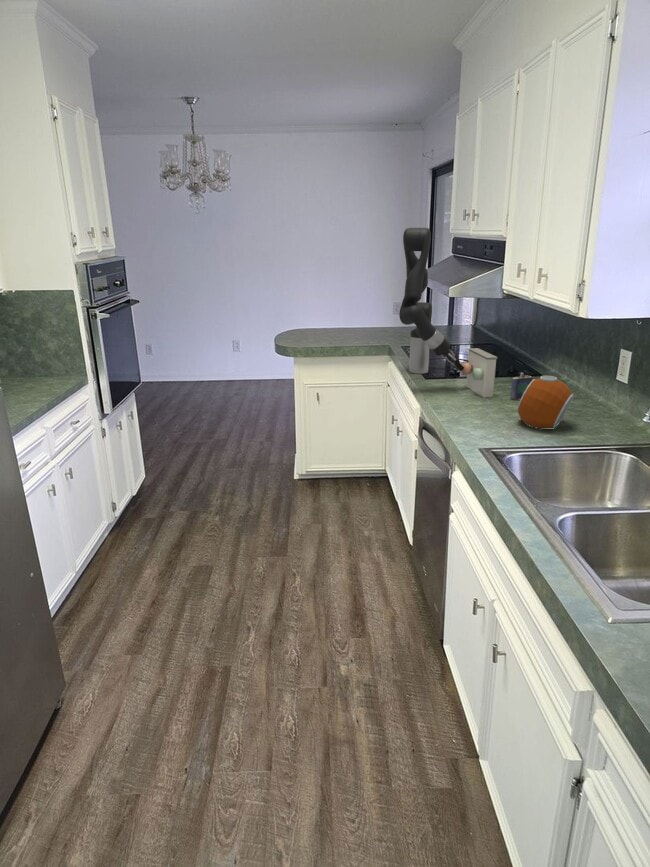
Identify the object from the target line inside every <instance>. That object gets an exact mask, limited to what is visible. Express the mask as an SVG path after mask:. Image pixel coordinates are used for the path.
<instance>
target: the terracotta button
mask: <svg viewBox="0 0 650 867" xmlns="http://www.w3.org/2000/svg"><path fill="white" fill-rule="evenodd" d="M461 365H462V366H463V367H464V369H463V370H462V371H460V372H461V374H462V375H463V376H464V375H466V376H467V374H470V373H471V371H473V366H471V365H470V363H468V362H462V363H461Z"/></svg>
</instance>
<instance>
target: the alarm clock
mask: <svg viewBox="0 0 650 867" xmlns="http://www.w3.org/2000/svg"><path fill="white" fill-rule="evenodd" d="M573 399H574V394H573V393H572V390H571V389H570V387H568V385H566V383H565V382H563V381H561V380H559V379H558V377H557V376H555V375H541V376H540V377H539V378H534V379H533V378H532V381H531V382H530V384H529V385H528V387H527V388H526V390H525V392H524V393H523V395H522V397H521V399H519V402H518V405H517V408H516V411H517V413H518V415H519V417H520V419H521V420H522V421H523V422H524V424H527V425H526V426H528V425H530V426H532V427H531V428H533V427H537V428H555V427H556V425H557V424H558V423H559V422H560V421H561V422H562V421H563V419H564V418H565V416H566V414H567V412H568V410H569V408H570V407H571V404H572V401H573ZM530 426H529V427H530ZM537 428H536V429H537ZM556 428H557V427H556ZM556 428H555V429H556Z"/></svg>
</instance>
